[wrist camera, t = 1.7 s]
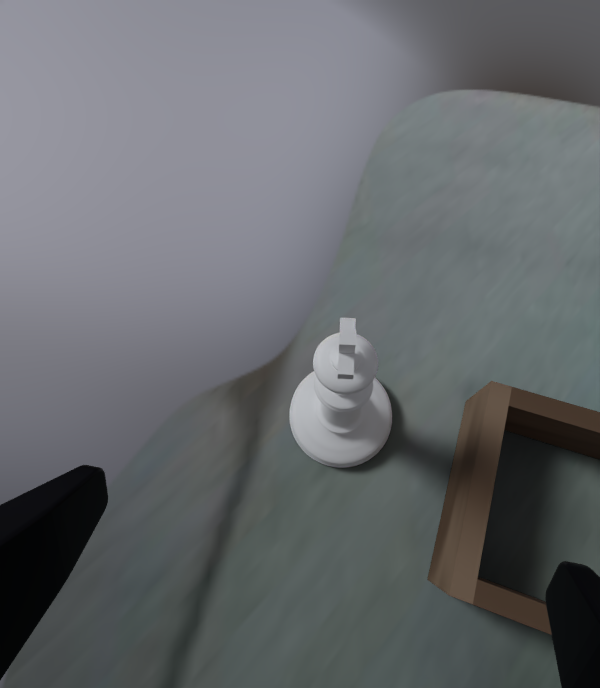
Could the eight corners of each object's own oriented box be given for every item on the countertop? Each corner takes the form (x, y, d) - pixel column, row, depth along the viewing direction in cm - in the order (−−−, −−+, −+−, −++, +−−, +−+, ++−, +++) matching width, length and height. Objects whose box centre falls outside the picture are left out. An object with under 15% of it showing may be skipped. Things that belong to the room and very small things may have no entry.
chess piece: (391, 369, 21) (439, 259, 12) (391, 471, 19) (447, 436, 10) (293, 364, 22) (265, 255, 12) (285, 463, 20) (245, 424, 11)
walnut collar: (634, 658, 16) (709, 695, 13) (427, 579, 18) (448, 595, 15) (647, 456, 19) (713, 445, 16) (465, 401, 20) (491, 380, 17)
